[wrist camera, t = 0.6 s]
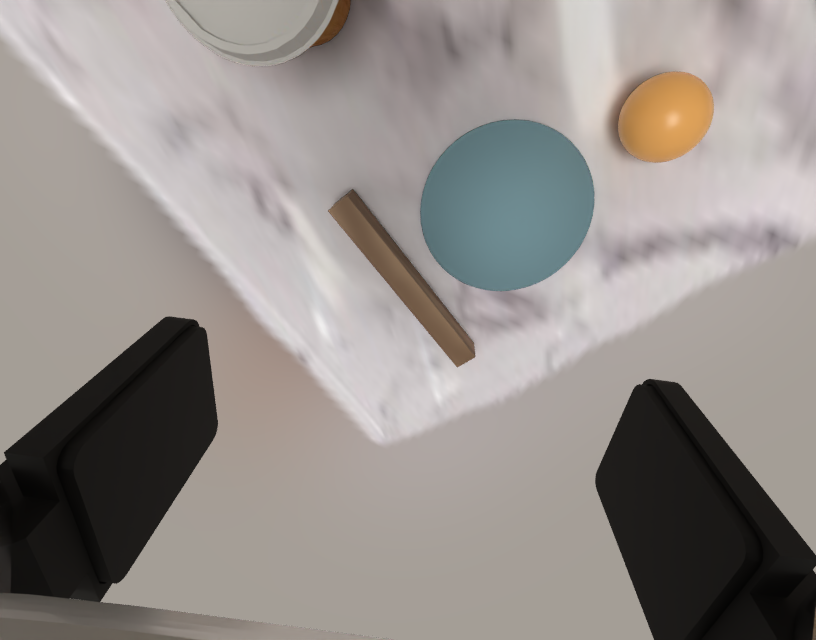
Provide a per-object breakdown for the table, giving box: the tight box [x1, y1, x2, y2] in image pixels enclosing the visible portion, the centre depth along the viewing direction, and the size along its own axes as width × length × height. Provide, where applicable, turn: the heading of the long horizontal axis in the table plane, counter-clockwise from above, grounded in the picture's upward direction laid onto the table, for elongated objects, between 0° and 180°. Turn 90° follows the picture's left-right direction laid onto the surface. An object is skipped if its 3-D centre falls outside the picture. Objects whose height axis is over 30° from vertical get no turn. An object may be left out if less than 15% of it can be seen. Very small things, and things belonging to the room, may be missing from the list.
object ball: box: [618, 72, 714, 163], centre depth 30 cm, size 6×6×6 cm
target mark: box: [420, 120, 594, 291], centre depth 36 cm, size 14×14×1 cm
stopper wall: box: [328, 189, 475, 367], centre depth 39 cm, size 2×18×2 cm, turn 37°
